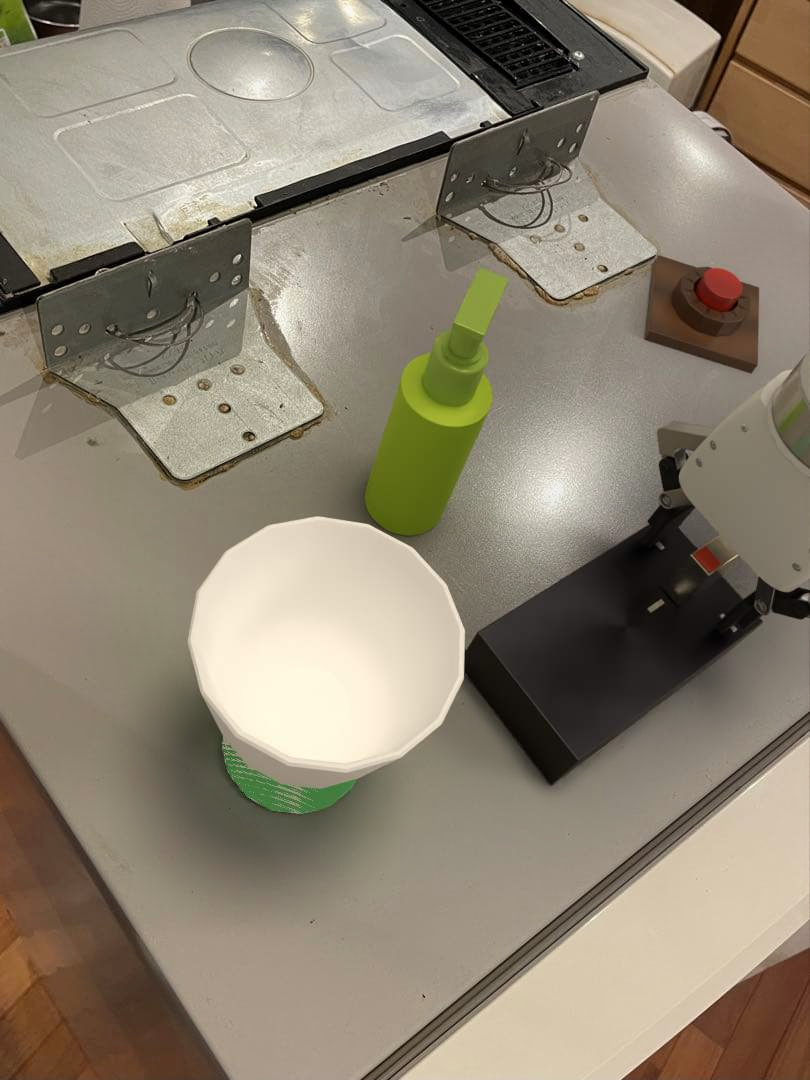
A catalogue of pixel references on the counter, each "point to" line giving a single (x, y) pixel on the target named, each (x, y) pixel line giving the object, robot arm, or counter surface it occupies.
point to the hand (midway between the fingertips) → (694, 576)
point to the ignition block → (701, 317)
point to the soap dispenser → (435, 418)
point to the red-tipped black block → (700, 570)
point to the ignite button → (718, 289)
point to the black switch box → (599, 651)
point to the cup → (323, 656)
